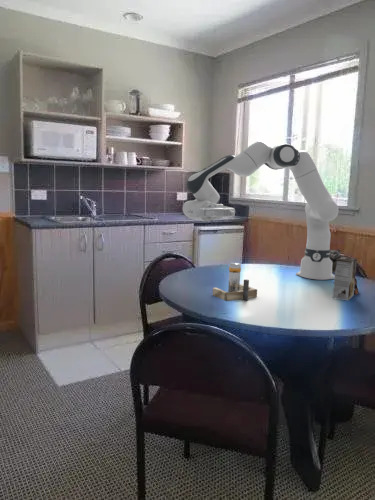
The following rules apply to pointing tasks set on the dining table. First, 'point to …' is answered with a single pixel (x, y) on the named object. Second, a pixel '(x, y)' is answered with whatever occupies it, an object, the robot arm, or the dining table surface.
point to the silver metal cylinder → (234, 277)
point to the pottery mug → (355, 287)
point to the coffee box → (344, 278)
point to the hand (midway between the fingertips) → (223, 213)
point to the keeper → (236, 293)
